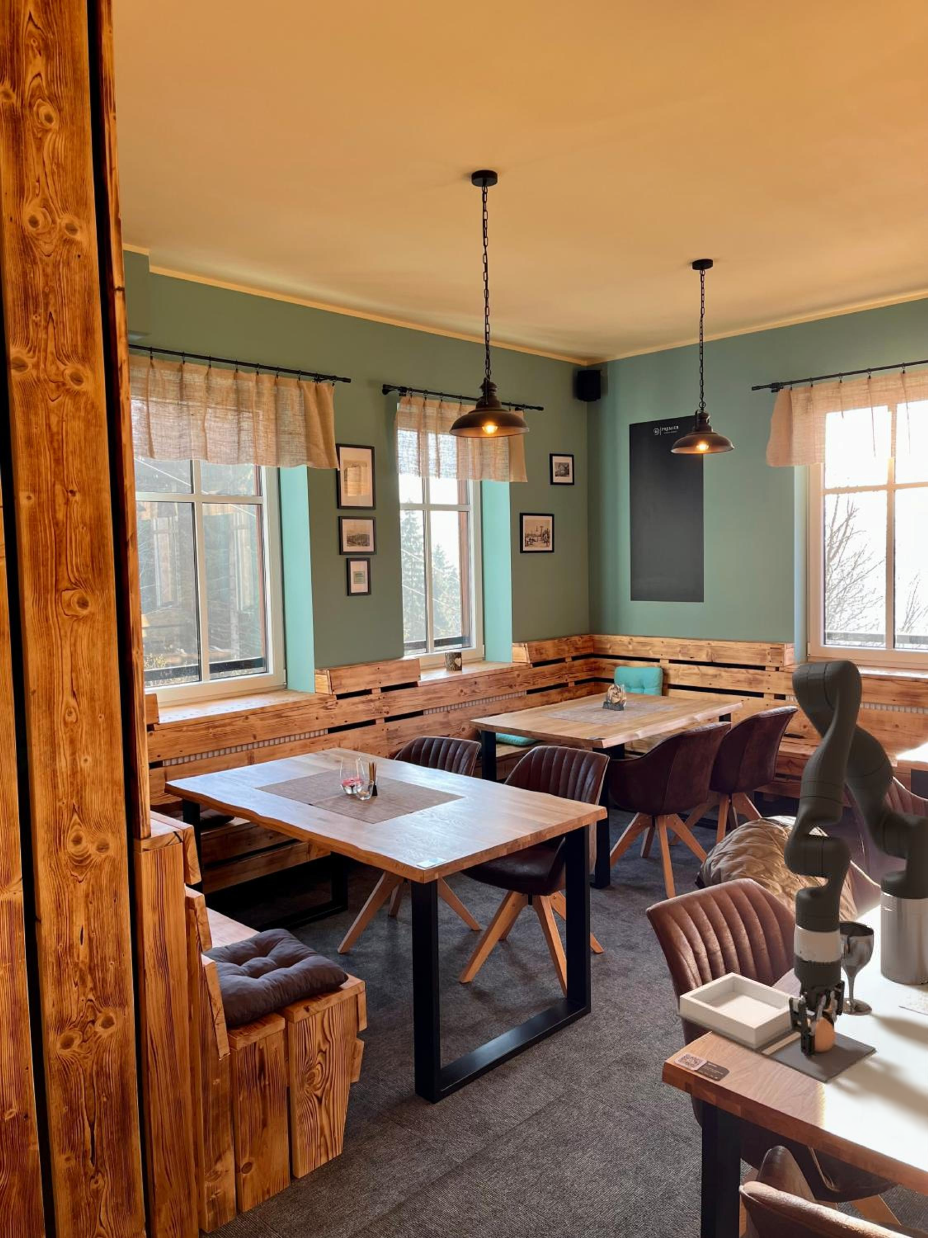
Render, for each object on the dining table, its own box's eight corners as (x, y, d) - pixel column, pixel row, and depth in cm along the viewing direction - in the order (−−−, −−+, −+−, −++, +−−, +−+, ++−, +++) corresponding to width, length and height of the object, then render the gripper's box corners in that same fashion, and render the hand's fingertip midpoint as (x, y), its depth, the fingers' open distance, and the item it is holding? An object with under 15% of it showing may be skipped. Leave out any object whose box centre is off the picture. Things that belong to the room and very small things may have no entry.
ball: (811, 1038, 160) (811, 1007, 160) (841, 1051, 155) (841, 1018, 155) (793, 1048, 156) (793, 1016, 156) (824, 1062, 152) (823, 1029, 152)
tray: (732, 990, 179) (732, 972, 179) (806, 1020, 166) (806, 1001, 166) (680, 1015, 169) (679, 996, 169) (754, 1049, 156) (754, 1028, 156)
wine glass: (819, 1001, 174) (819, 924, 174) (851, 994, 177) (851, 918, 177) (850, 1020, 167) (850, 939, 166) (883, 1012, 170) (883, 932, 169)
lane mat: (727, 990, 180) (727, 988, 180) (875, 1050, 156) (875, 1047, 156) (675, 1015, 170) (675, 1013, 170) (824, 1083, 146) (824, 1080, 146)
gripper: (820, 934, 162) (820, 1027, 163) (773, 955, 154) (774, 1053, 154) (860, 947, 157) (860, 1043, 157) (814, 970, 148) (814, 1072, 148)
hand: (817, 1048), depth 156 cm, fingers closed on ball, 5 cm apart
